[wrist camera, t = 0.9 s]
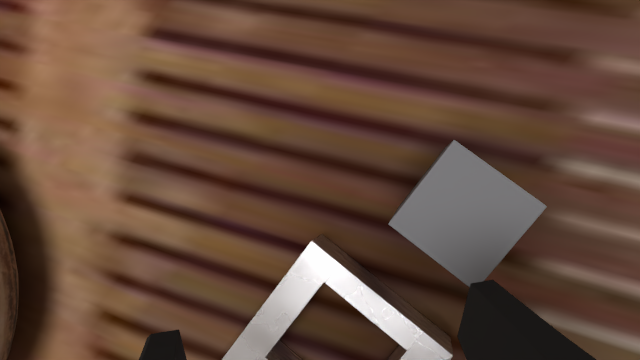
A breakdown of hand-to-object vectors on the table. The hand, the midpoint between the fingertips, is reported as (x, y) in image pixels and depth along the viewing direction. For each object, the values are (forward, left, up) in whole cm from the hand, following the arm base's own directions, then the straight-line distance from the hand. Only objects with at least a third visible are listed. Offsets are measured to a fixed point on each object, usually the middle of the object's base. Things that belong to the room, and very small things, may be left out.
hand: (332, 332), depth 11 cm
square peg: (-2, -4, -15) cm, 15 cm away
